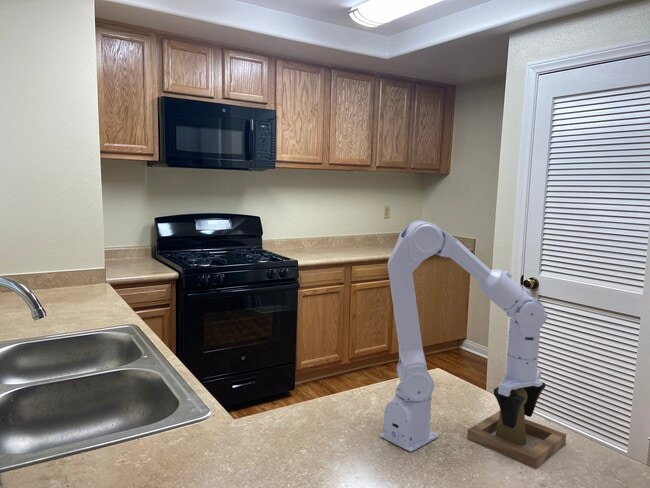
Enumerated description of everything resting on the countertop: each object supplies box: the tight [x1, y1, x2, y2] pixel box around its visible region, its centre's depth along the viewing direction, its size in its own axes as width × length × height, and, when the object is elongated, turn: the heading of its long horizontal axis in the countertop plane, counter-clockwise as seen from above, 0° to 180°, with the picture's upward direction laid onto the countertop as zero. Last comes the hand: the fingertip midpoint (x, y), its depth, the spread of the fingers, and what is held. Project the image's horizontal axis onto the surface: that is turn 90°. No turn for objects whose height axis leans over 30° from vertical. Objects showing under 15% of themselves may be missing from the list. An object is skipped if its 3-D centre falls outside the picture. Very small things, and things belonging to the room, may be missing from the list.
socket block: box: [466, 410, 567, 469], centre depth 97 cm, size 14×14×2 cm
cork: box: [494, 388, 527, 447], centre depth 98 cm, size 6×6×11 cm
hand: (517, 420), depth 97 cm, fingers open, 7 cm apart
